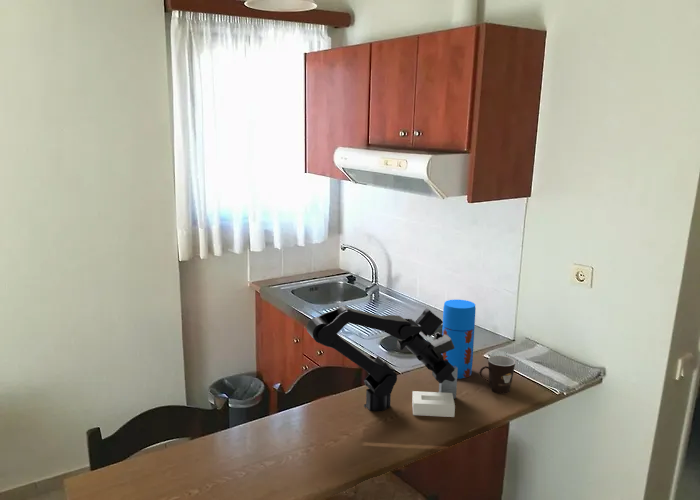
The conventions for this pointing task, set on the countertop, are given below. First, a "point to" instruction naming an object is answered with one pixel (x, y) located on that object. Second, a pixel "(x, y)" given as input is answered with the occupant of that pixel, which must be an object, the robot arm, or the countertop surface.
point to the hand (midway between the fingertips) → (452, 378)
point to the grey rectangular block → (449, 384)
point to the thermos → (460, 334)
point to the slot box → (433, 404)
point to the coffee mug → (500, 373)
